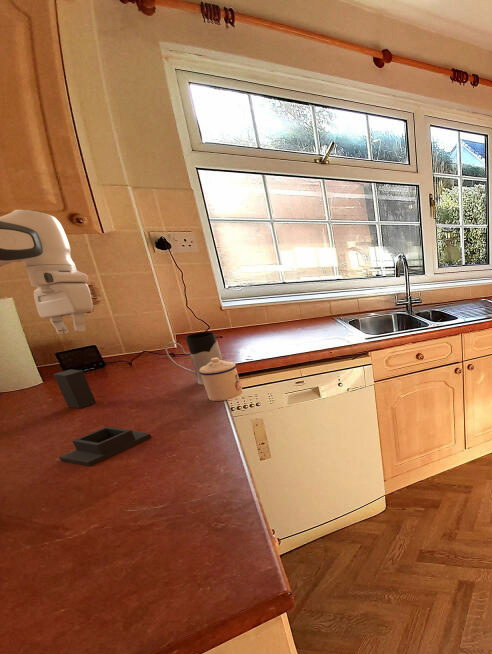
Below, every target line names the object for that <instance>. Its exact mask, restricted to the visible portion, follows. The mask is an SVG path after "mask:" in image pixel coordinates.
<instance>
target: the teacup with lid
mask: <svg viewBox="0 0 492 654" xmlns="http://www.w3.org/2000/svg"><path fill="white" fill-rule="evenodd" d="M199 373H200V374H201V376H202V380H203V383H204V385H203V386H204V389H205V393H206V395H207V398H208V399H209V401H213V402H223V401H227V400H231V399H234V398H237V397H239V396H241V395H242V394H243V392H244V390H243V387H242V383H241V379H240V377H239V373H238V370H237V364H236V363H235V362H234V361H227V360H220V359H219V358H212V359H211V362H210V363H208V364H207V365H205V366H203V367H202V368H200V370H199Z"/></svg>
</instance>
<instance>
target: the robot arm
mask: <svg viewBox="0 0 492 654" xmlns="http://www.w3.org/2000/svg"><path fill="white" fill-rule="evenodd" d="M71 253H72V249H71V245H70V242H69V240H68V237H67V234H66V232H65V230H64V228H63V226H62V224H61V222H60V221H59V220H58V219H57V218H56V217H55V216H54V215H51V214H50V213H47V212H45V211H44V212H43V211H40V210H34V209H25V208H22V209H21V208H20V209H15V210H13V211H11V212H9V213H7V214H4V215H2V216H0V267H3V266H6V265H9V264H12V263H22V264H23V265H24V267H25V270H26V273H27V276H28V279H29V283H30V284H31V285H30V286H31V287H33V288H36V289H34V290H33V299H34V302H35V307H36V311H37V313H38V316H39V317H40V318H41V319H49V321H50V323H51V325H52V326H53V327H54V329H55V331H56V334H57V335H67V334H69V329H68V327H67V326H66V325H65V323H64V317H67V316H70V317H71V319H72V321H73V325H72V328H73V332H75V333H83V332H86V331H87V328H86V325H85V324H86V315H85V313H90V312H93V308H94V303H93V299H92V294H91V290H90V287H89V285H88V284H87V283H89V277H88V274H87V273H85V272H82V271H80V270H78V269H77V266H76V263H75V262H74V261H73V258H72V256H71Z"/></svg>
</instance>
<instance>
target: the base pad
mask: <svg viewBox="0 0 492 654" xmlns="http://www.w3.org/2000/svg"><path fill="white" fill-rule="evenodd" d="M151 438H152V435H151V433H148V432H142V431H136V430H132V429H128V428H119V427H114V426H105V427H102V428H100V429H98V430H94V431H91V432H90V433H87V434H85V435H83V436H80V437H78V438H75V439H73V440H72V444H73V445H74V447H75V449H74V450H72V451H70V452H68V453H65V454H63V455H61V456H59V460H60V461H61V462H64V463H70V464H75V465H80V466H85V467H86V466H87V467H92V466H94V465H96V464H97V463H100V462H102V461H105V460H106V459H108V458H110V457H113V456H115V455H117V454H119V453H121V452H124V451H125V450H127V449H130V448H131V447H132V448H133V447H134V446H136V445H138V444H140V443H142V442H145V441H146V440H149V439H151Z"/></svg>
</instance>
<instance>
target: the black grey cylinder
mask: <svg viewBox="0 0 492 654" xmlns="http://www.w3.org/2000/svg"><path fill="white" fill-rule="evenodd" d="M185 341H186V344H187V346H188V350H189V352H185V350H184V349H185V348H184V347H183V346H182V345H181V344H180V343H178V342H176V341H171V342H168V343H167V344H165V346H164V351H165V353H166V357H168V359H169V361H171V362H172V364H174V365H175V366H177V367H179V368H181V369H182V370H185V371H187V372H190V373H192V374H194V375H195V377H197V384H198V385H203V386H204V383H203V380H202V376H201V374H200V373H199V370H200V368H202V367H203V366H205V365H207V364H208V363H210V362H211V359H212V358H219V359H220V360H223V356H222V352H221V349H220V345H219V341H218V340H217V338H216V335H215V332H213V331H203V332H202V331H201V332H195V333H191V334H189V335H186V336H185ZM171 344H175V345H177V346H179V347H180V350H181V352H182V353H183V354H184V355H190V358H191V361H192V364H193V367H194V370H192V369H189V368H186V367H184V366H183V365H180V364H179V363H177V362H176V361H175V360H174V359H173V358H172V357H171V356H170V354H169V351H168V346H170V345H171ZM223 361H224V360H223Z"/></svg>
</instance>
